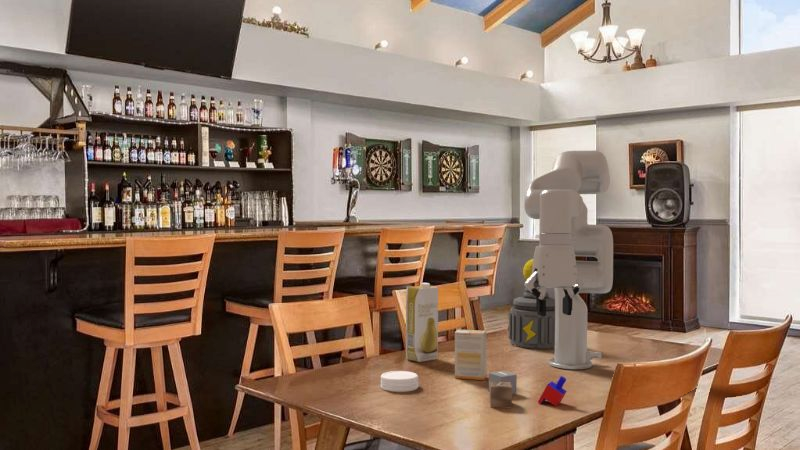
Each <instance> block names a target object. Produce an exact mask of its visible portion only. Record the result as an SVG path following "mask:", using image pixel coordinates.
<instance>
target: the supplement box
mask: <svg viewBox="0 0 800 450" xmlns="http://www.w3.org/2000/svg"><path fill="white" fill-rule="evenodd" d="M487 366H488V365H487V330H480V329H479V330H477V329H476V330H475V329H474V330H473V329H457V330H456V331H454V378H455V379H462V380H463V379H465V380H474V381H475V380H476V381H484V380H485V379H486V378H487V374H488V373H487V368H488V367H487Z"/></svg>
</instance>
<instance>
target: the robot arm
mask: <svg viewBox="0 0 800 450" xmlns="http://www.w3.org/2000/svg"><path fill="white" fill-rule="evenodd" d="M609 186H610V169H609V165H608V160H607V157H606V155H604V153H603V152H601V151H599V150H594V149H593V150H566V151H563V152H561V153H559V154H558V155H557V156H556V157H555V159H554V162H553V164H552V168H551V170H550V171H549V172H547V173H545V174H544V175H541V176H539V177H536V178H535V179H534V180H532V181H531V182H530V184H529V186H528V188H527V190H526V194H525V197H524V204H523V205H524V207H523V208H524V211H525V214H526V216H527V217H529V218H530V219H533V220H539V227H538V228H539V231H538V234H539V236H538V237H539V238H538V240H539V241H538V245H536V246H535V249H534V252H533V253H534V254H533V258H532V259H533V266H532V275H531V276H530V278H529V279H528V280H525V282H524V284H523V285H524V286H525V287H527V288H528V290H530V292H531V293H532V294H533V295H534V297H535V298H536V311H537V314H538V315H540V316H546V300H545V299H544V296H545V294H546V291H547V292H548V289H553V290H554V299H555V348H554V357H552V358H550V359H549V360H548V362H549V363H548V364H549V365H550V366H551V367H553V368H557V369H564V370H586V369H590V368H592V367H593V362H592V360H593V359H596V360H597V359H601V358H602V356H603V355H602V352H601V351H590V350H588V306H587V304H586V302H585V301H584V299H583V298H582V297H581V296H580V295H579V294H607V293H609V292H611V290H612V288H613V283H614V282H613V281H614V237H613V233H612V230H611V228H610V227H609V226H608V225H603V224H589V223H588V210H589V209H588V207H587V205H586V203H585V202H584V199H583V197H582V195H603V194H605V193H606V192H607V191H608V189H609ZM576 257H594V258H596V259H597V261H596V260H595V261H592V260H591V261H590V260H576ZM533 285H534V286H538V287H537V289H536V288H535V287H534V286H533Z"/></svg>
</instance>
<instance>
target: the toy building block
mask: <svg viewBox="0 0 800 450" xmlns="http://www.w3.org/2000/svg"><path fill="white" fill-rule="evenodd" d="M566 381H567V378H566V377H564V376H559V378H558V380H557V382H556V383H555V382H554V381H550V382H548V384H546V386H545V388H544V390H543V391H542V394H541V395H540V397H539V398H538V400H537V403H538V404H540V405H541V404H543V403H544V402H546V401H547V402H549V403H550V404H552V405H553V406H555V407H557V406H558V405H559V404H561V403H562V400H563V399H564V398H565V395H566V394H567V390H566V389H564V388H563V386H564V384H565V383H566Z"/></svg>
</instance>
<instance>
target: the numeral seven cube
mask: <svg viewBox="0 0 800 450" xmlns="http://www.w3.org/2000/svg"><path fill="white" fill-rule="evenodd" d="M488 392H489V393H488V394H489V398H488V399H489V400H488V402H489V405H490V406H489V407H490V408H494V407H511V408H510V409H512V408H513V394H512V386H511V383H510V382H490V391H489V390H488Z"/></svg>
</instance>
